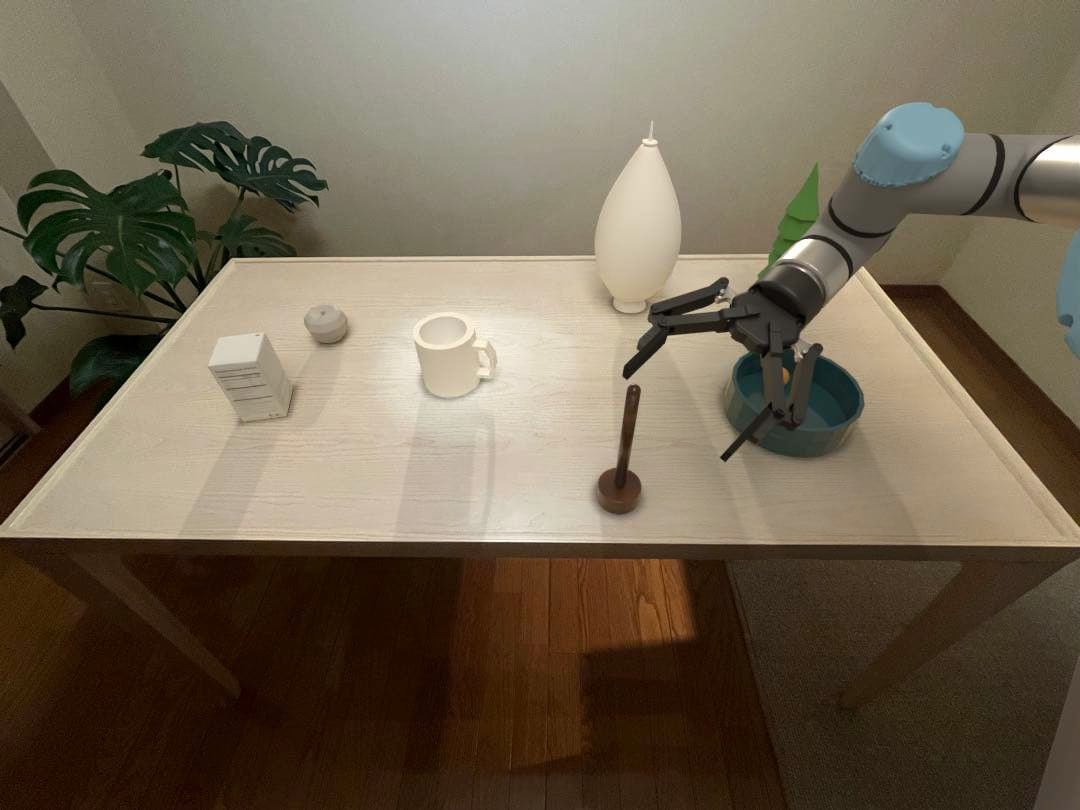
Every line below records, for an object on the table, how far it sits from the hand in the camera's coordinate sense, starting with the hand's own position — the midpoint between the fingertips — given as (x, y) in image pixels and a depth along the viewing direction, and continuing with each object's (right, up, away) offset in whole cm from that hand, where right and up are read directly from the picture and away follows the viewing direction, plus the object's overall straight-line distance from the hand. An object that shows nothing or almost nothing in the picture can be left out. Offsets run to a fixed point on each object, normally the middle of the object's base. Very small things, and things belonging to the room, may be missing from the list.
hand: (673, 413), depth 55 cm
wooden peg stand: (-3, -12, +20) cm, 23 cm away
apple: (-55, +14, +47) cm, 74 cm away
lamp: (+4, +22, +53) cm, 58 cm away
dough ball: (+26, +6, +33) cm, 42 cm away
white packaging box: (-61, +1, +34) cm, 70 cm away
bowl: (+26, 0, +31) cm, 40 cm away
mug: (-29, +5, +38) cm, 48 cm away
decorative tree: (+32, +18, +49) cm, 61 cm away
